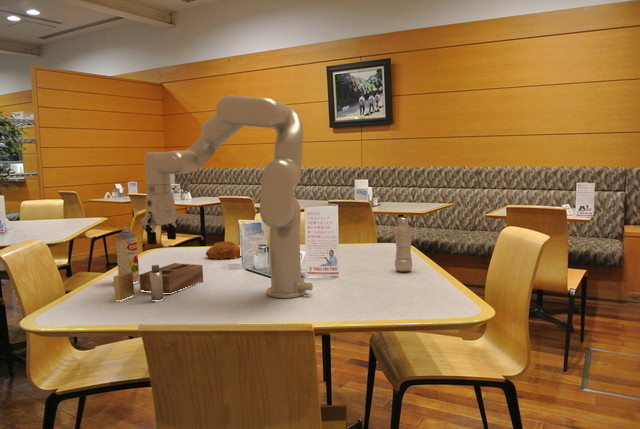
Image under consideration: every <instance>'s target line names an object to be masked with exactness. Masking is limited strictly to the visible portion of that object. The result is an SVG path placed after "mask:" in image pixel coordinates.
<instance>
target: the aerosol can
mask: <svg viewBox="0 0 640 429" xmlns="http://www.w3.org/2000/svg"><path fill="white" fill-rule="evenodd" d="M137 239H138V238H137V235H136V234H134V233H133V232H132V231H131V230H130V229H129V226H123V227H122V230H121V231H120V232H119V233H118V235H117V236H115V246H116V248H115V249H116V260H117V261H116V262H117V274H118V275H120V274H124V273H127V272H131V273H133V282H136V281H140V278H139V275H140V270H139V269H140V268H139V255H138V241H137Z"/></svg>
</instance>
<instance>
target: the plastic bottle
mask: <svg viewBox="0 0 640 429" xmlns="http://www.w3.org/2000/svg"><path fill="white" fill-rule="evenodd" d="M397 219H398V220H397V223H398V225H397V226H396V227H395V230H394V240H395V246H396V249H395V251H396V252H395V259H394V268H395V270H396V271H397V272H400V273H401V272H402V273H404V272H405V273H407V272H411V270H412V268H413V259H412V254H411V253H412V251H411V249H412V237H413V235H412V234H413V230H412V228H411V226H410V225H409V224H408V223H409V217H407V216H398V218H397Z"/></svg>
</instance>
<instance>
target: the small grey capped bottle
mask: <svg viewBox="0 0 640 429" xmlns="http://www.w3.org/2000/svg"><path fill="white" fill-rule="evenodd" d="M159 268H160V265H159V264H152V265H151V271H152V272H150V287H151V293H150V300H161V299H163V298H164V295H163V281H162V271H159ZM164 299H165V298H164Z"/></svg>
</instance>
